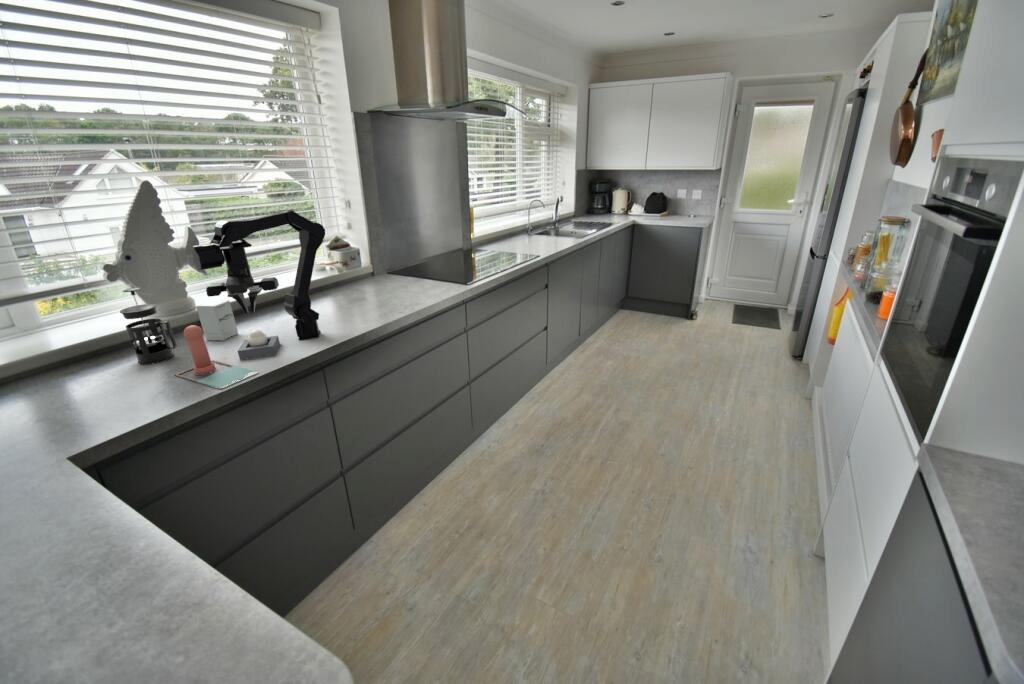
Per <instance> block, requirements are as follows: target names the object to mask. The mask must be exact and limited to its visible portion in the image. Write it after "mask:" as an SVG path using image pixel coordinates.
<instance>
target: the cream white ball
mask: <svg viewBox="0 0 1024 684" xmlns="http://www.w3.org/2000/svg"><path fill="white" fill-rule="evenodd" d="M267 337H268V336H267V334H266V333H265V332H263V331H262V330H259V329H254V330H252V331H250V333H249V335H247V340H248V341H249V345H250V347H257V346H264V345H266V344H268V341H267Z"/></svg>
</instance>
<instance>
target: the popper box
mask: <svg viewBox="0 0 1024 684" xmlns="http://www.w3.org/2000/svg"><path fill="white" fill-rule="evenodd" d="M266 337H267V341H268V344H266V345H264V346H257V347H250V345H249V341H248V339H244V340H243V342H242V344H241V345H240V347H238V350H237V354H238V358H239V360H240V359H243V360H247V359H246V358H250V359H254V358H253V357H257V358H260V357H259V356H264V357H268V356H267V355H271V356H275V355H276V354H277V352H278V350H279V347H280V344H281V342H280V337H279V335H272V336H266ZM277 349H278V350H277Z"/></svg>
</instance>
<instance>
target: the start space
mask: <svg viewBox="0 0 1024 684" xmlns="http://www.w3.org/2000/svg"><path fill="white" fill-rule="evenodd" d="M211 362H216V363H215V364H218V363H219V364H218V365H222V364H223V365H222V366H225V365H227V366H226V367H228V368H230V367H229V366H231V367H232V366H234V365H233V364H229V363H225V362H221V361H218V360H215V359H212V360H211ZM192 369H193V370H194V368H193V367H191V368H188V369H186V370H183V371H180V372H178V373H175V374H174V376H175V375H176V376H175V377H178V376H179V377H178V378H181V377H182V378H181V379H184V378H185V379H184V380H187V379H189V380H188V381H190V380H192V381H191V382H194V381H196V382H195V383H197V381H198V380H199V379H194V378H191V377H188V376H185V375H182V374H181V373H183V374H185V373H188V372H190V371H193V370H192ZM189 370H190V371H189ZM187 371H188V372H187ZM184 372H185V373H184ZM218 372H219V371H218ZM218 372H216V373H218ZM179 374H180V375H179ZM213 374H214V373H211V375H213ZM208 376H209V375H208ZM208 376H206V377H208ZM203 378H204V377H203ZM203 378H201V379H203Z"/></svg>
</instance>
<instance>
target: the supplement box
mask: <svg viewBox="0 0 1024 684" xmlns="http://www.w3.org/2000/svg"><path fill="white" fill-rule="evenodd" d="M195 307H196V311H197V314H198V317H199V321H200V324H201V329H202V331H203V335H204V338H205V340H206V341H215V340H220V341H219V342H224V341H225V340H228V339H230V338H231V336H232V337H234V336H236V335H238V334H239V331H238V327H237V323H236V320H235V316H234V312H233V309H232V304H231V302H230V300H224V299H223V300H222V299H220V300H219V299H217V300H216V299H213V300H209V301H207V302H203V303H201V304H199V305H195Z"/></svg>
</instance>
